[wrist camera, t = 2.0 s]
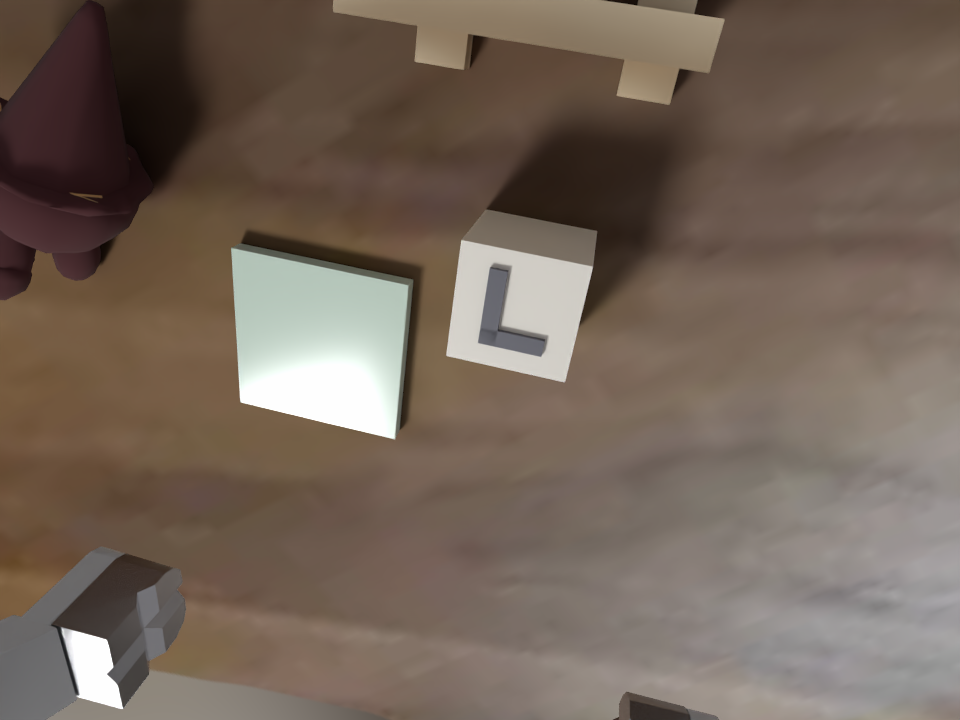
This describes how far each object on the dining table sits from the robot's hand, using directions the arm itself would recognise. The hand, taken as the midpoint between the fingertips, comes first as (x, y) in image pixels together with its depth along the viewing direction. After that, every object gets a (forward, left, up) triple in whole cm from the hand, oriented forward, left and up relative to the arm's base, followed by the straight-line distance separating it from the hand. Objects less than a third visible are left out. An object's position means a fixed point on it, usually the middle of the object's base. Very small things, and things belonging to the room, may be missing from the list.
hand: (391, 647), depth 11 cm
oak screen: (-10, -1, -20) cm, 22 cm away
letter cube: (0, 0, -20) cm, 20 cm away
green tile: (+6, -10, -20) cm, 23 cm away
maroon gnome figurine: (-2, -21, -20) cm, 29 cm away
